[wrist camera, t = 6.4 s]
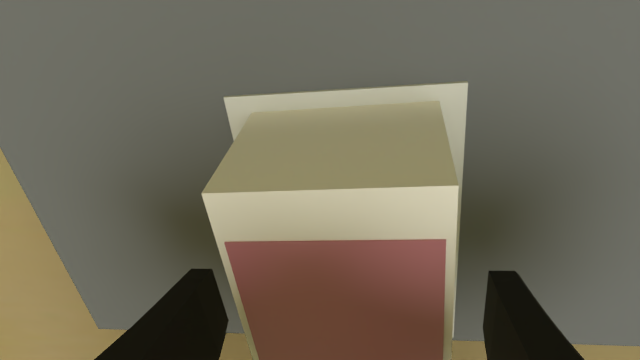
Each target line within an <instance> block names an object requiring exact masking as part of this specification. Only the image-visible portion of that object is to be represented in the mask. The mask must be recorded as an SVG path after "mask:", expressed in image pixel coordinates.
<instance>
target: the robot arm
mask: <svg viewBox="0 0 640 360" xmlns="http://www.w3.org/2000/svg"><path fill="white" fill-rule="evenodd" d="M228 321H229V320H228V317H227V314H226V310H225V307H224V304H223V301H222V298H221V295H220V292H219V288H218V285H217V282H216V279H215V276H214V273H213V270H212V269H190V270H189V271H188V272H187V273H186V274H185V275H184V276H183V277H182V278H181V279H180V280H179V281H178V282H177V283H176V284H175V285H174V286H173V287H172V288H171V289H170V290H169V291H168V292H167V293H166V294H165V295H164V296H163V297H162V298H161V299H160V300H159V301H158V302H157V303H156V304H155V305H154V306H153V307H152V308H151V309H149V310H148V311H147V312H146V313H145V314H144V315H143V316H142V317H141V318H140V319H139V320H138V321H137V322H136V323H135V324H134V325H133V326H132V327H131V328H130V329H128V330H127V331H126V332H125V333H124V334H123V335H122V336H121V337H119V338H118V339H117V340H116V341H115V342H114V343H113V344H112V345H110V346H109V347H108V348H107V349H106V350H105V351H104V352H103V353H101V354H100V355H99V356H98V357H97V358H96V359H94V360H219V357H220V354H221V350H222V346H223V342H224V338H225V334H226V330H227V325H228ZM483 333H484V340H485V347H486V354H487V360H584V359H583V358H582V356H581V355H580V354H579V353H578V352H577V351H576V349H575V348H574V347H573V346H572V345H571V343H570V342H569V341H568V340H567V338H566V337H565V336H564V335H563V334H562V332H561V331H560V330H559V329H558V327H557V326H556V325H555V324H554V322H553V321H552V320H551V318H550V317H549V316H548V315H547V313H546V312H545V311H544V309H543V308H542V307H541V305H540V304H539V303H538V301H537V300H536V298H535V297H534V296H533V294H532V293H531V291H530V290H529V289H528V287H527V286H526V284H525V283H524V281H523V280H522V278H521V277H520V275H519V274H518V273H517V272H516V271H489V272H488V281H487V291H486V300H485V310H484V319H483Z"/></svg>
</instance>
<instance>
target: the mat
mask: <svg viewBox="0 0 640 360" xmlns="http://www.w3.org/2000/svg"><path fill="white" fill-rule="evenodd" d="M427 101H440V106H441V110H442V115H443V119H444V123H445V128H446V132H447V137H448V141H449V145H450V150H451V154H452V158H453V163H454V167H455V172H456V176H457V180H458V185H459V189H458V213H457V237H456V260H455V284H454V308H453V332H452V340H464V341H485V340H484V333H483V319H484V310H485V300H486V291H487V281H488V272H489V271H516V272H517V273H518V274H519V275H520V277H521V278H522V280H523V281H524V283H525V284H526V286H527V287H528V289H529V290H530V291H531V293H532V294H533V296H534V297H535V298H536V300H537V301H538V303H539V304H540V305H541V307H542V308H543V309H544V311H545V312H546V313H547V315H548V316H549V317H550V318H551V320H552V321H553V322H554V324H555V325H556V326H557V327H558V329H559V330H560V331H561V332H562V334H563V335H564V336H565V337H566V338H567V340H568V341H569V342H570V343H571V344H588V345H619V346H640V0H0V148H1V150H2V152H3V153H4V155H5V157H6V159H7V161H8V163H9V165H10V166H11V168H12V170H13V172H14V174H15V176H16V177H17V179H18V181H19V183H20V185H21V187H22V189H23V190H24V192H25V194H26V196H27V198H28V200H29V201H30V203H31V205H32V207H33V209H34V211H35V213H36V214H37V216H38V218H39V220H40V222H41V224H42V225H43V227H44V229H45V231H46V233H47V235H48V236H49V238H50V240H51V242H52V244H53V246H54V248H55V249H56V251H57V253H58V255H59V257H60V259H61V260H62V262H63V264H64V266H65V268H66V270H67V272H68V273H69V275H70V277H71V279H72V281H73V283H74V284H75V286H76V288H77V290H78V292H79V294H80V295H81V297H82V299H83V301H84V303H85V305H86V307H87V308H88V310H89V312H90V314H91V316H92V318H93V319H94V321H95V323H96V325H97V327H98V329H124V330H128V329H130V328H131V327H132V326H133V325H134V324H135V323H136V322H137V321H138V320H139V319H140V318H141V317H142V316H143V315H144V314H145V313H146V312H147V311H148V310H149V309H151V308H152V307H153V306H154V305H155V304H156V303H157V302H158V301H159V300H160V299H161V298H162V297H163V296H164V295H165V294H166V293H167V292H168V291H169V290H170V289H171V288H172V287H173V286H174V285H175V284H176V283H177V282H178V281H179V280H180V279H181V278H182V277H183V276H184V275H185V274H186V273H187V272H188V271H189V270H190V269H212V270H213V273H214V276H215V279H216V282H217V285H218V288H219V292H220V295H221V298H222V301H223V304H224V307H225V310H226V314H227V317H228V320H229V321H228V325H227V330H226V333H244V330H243V327H242V323H241V320H240V317H239V314H238V310H237V307H236V304H235V301H234V298H233V294H232V291H231V288H230V285H229V281H228V278H227V275H226V272H225V269H224V265H223V262H222V259H221V256H220V252H219V249H218V246H217V243H216V240H215V236H214V233H213V230H212V227H211V223H210V220H209V217H208V214H207V211H206V207H205V204H204V201H203V198H202V194H201V193H202V191H203V190H204V188H205V187H206V185H207V183H208V182H209V180H210V179H211V177H212V176H213V174H214V172H215V171H216V169H217V168H218V166H219V164H220V163H221V161H222V160H223V158H224V156H225V155H226V153H227V152H228V150H229V148H230V147H231V145H232V144H233V142H234V140H235V139H236V137H237V136H238V134H239V133H240V131H241V129H242V128H243V126H244V125H245V123H246V121H247V120H248V118H249V117H250V115H251V113H253V112H268V111H284V110H300V109H316V108H332V107H347V106H363V105H379V104H395V103H411V102H427Z"/></svg>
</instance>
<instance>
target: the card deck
mask: <svg viewBox="0 0 640 360" xmlns="http://www.w3.org/2000/svg"><path fill="white" fill-rule="evenodd" d="M458 189H459V185H458V180H457V176H456V172H455V167H454V163H453V158H452V154H451V150H450V145H449V141H448V137H447V132H446V128H445V123H444V119H443V115H442V110H441V106H440V101H427V102H411V103H395V104H379V105H363V106H347V107H332V108H316V109H300V110H284V111H268V112H253V113H251V115H250V117H249V118H248V120H247V121H246V123H245V125H244V126H243V128H242V129H241V131H240V133H239V134H238V136H237V137H236V139H235V140H234V142H233V144H232V145H231V147H230V148H229V150H228V152H227V153H226V155H225V156H224V158H223V160H222V161H221V163H220V164H219V166H218V168H217V169H216V171H215V172H214V174H213V176H212V177H211V179H210V180H209V182H208V183H207V185H206V187H205V188H204V190H203V191H202V193H201V194H202V198H203V201H204V204H205V207H206V211H207V214H208V217H209V220H210V223H211V227H212V230H213V233H214V236H215V240H216V243H217V246H218V249H219V252H220V256H221V259H222V262H223V265H224V269H225V272H226V275H227V278H228V281H229V285H230V288H231V291H232V294H233V298H234V301H235V304H236V307H237V310H238V314H239V317H240V320H241V323H242V327H243V330H244V333H245V336H246V339H247V343H248V346H249V349H250V352H251V356H252V359H253V360H451V356H452V332H453V308H454V284H455V260H456V237H457V213H458Z"/></svg>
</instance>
